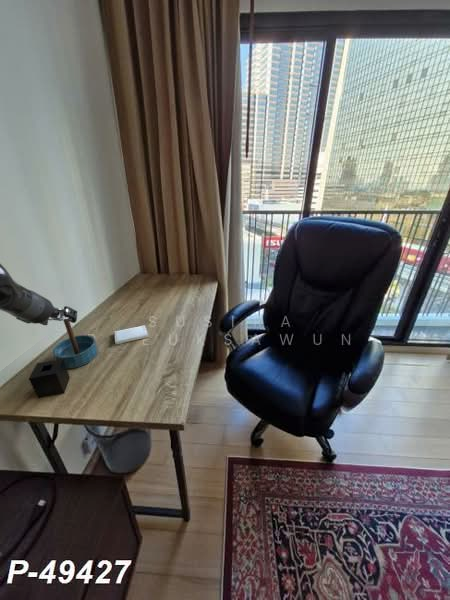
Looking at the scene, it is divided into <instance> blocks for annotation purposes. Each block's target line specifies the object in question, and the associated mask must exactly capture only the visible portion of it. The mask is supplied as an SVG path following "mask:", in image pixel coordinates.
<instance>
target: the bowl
mask: <svg viewBox="0 0 450 600" xmlns="http://www.w3.org/2000/svg"><path fill="white" fill-rule="evenodd" d="M74 336H75V339H76V342H77V345H78V348H79V351H80V353H79V354H76V355H75V353H74V350H73V347H72V344H71V341H70V338H69V337H68V338H66V339H64V340H61V341H60V342H59V343H57V345H55V346H54V347H53V349H52V354H53V357H54V360H58V359H63V361H64V363H65V366H66V369H76V368H81V367H83V366H85V365H86V364H89V363H90V362H92V360H94V359H95V358H96V357H97V355H98V353H99V349H98V345H97V341H96V338H95V337H93V335H88V334H79V335H74Z"/></svg>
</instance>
